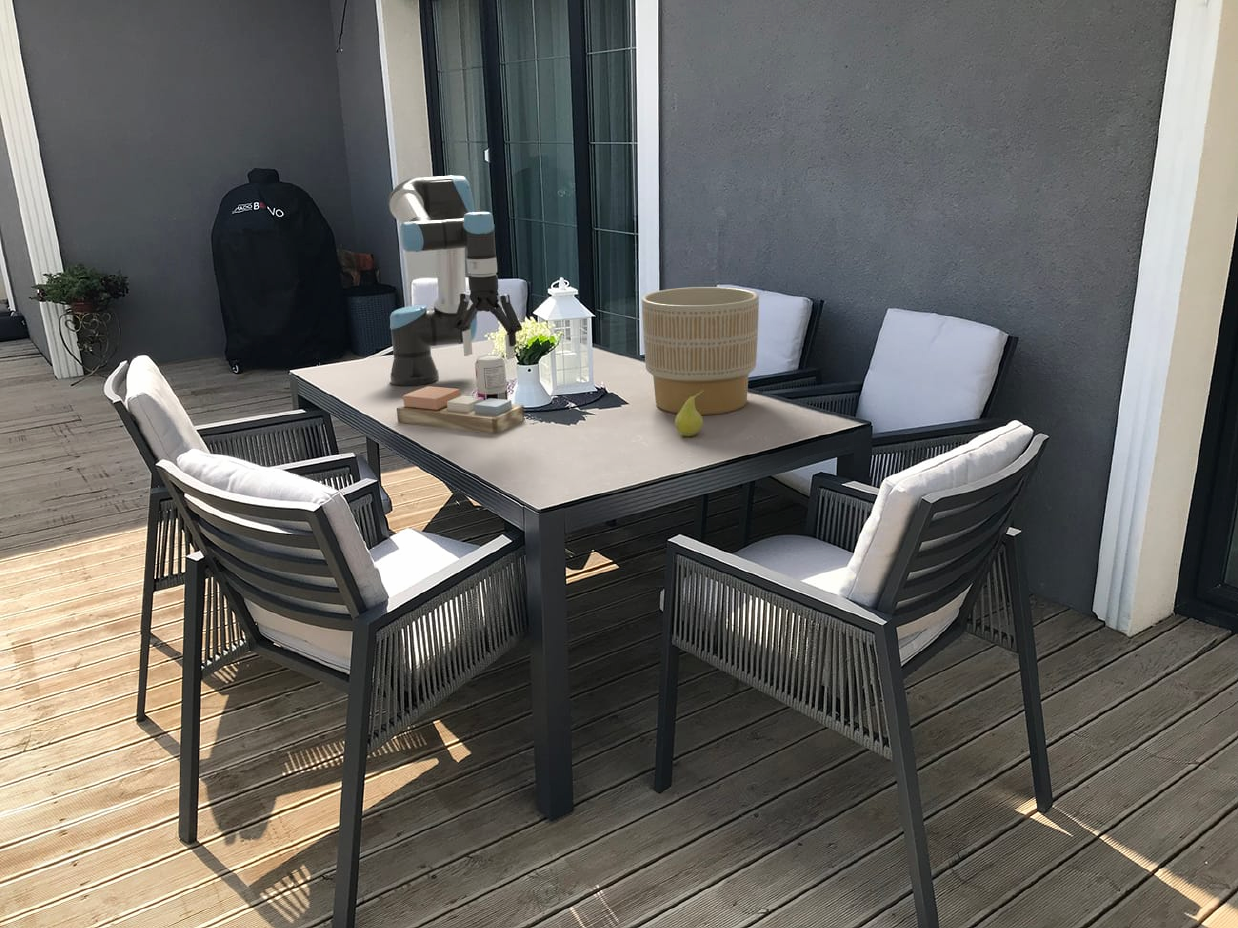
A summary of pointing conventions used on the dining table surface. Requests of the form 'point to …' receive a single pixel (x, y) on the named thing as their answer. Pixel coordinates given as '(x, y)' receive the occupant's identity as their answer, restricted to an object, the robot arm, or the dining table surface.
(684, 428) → the fruit
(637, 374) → the dining table surface
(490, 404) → the key slate
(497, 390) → the supplement can
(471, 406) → the key ivory
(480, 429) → the wooden compartment tray
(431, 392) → the key terracotta
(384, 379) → the dining table surface
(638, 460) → the dining table surface
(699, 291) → the planter
